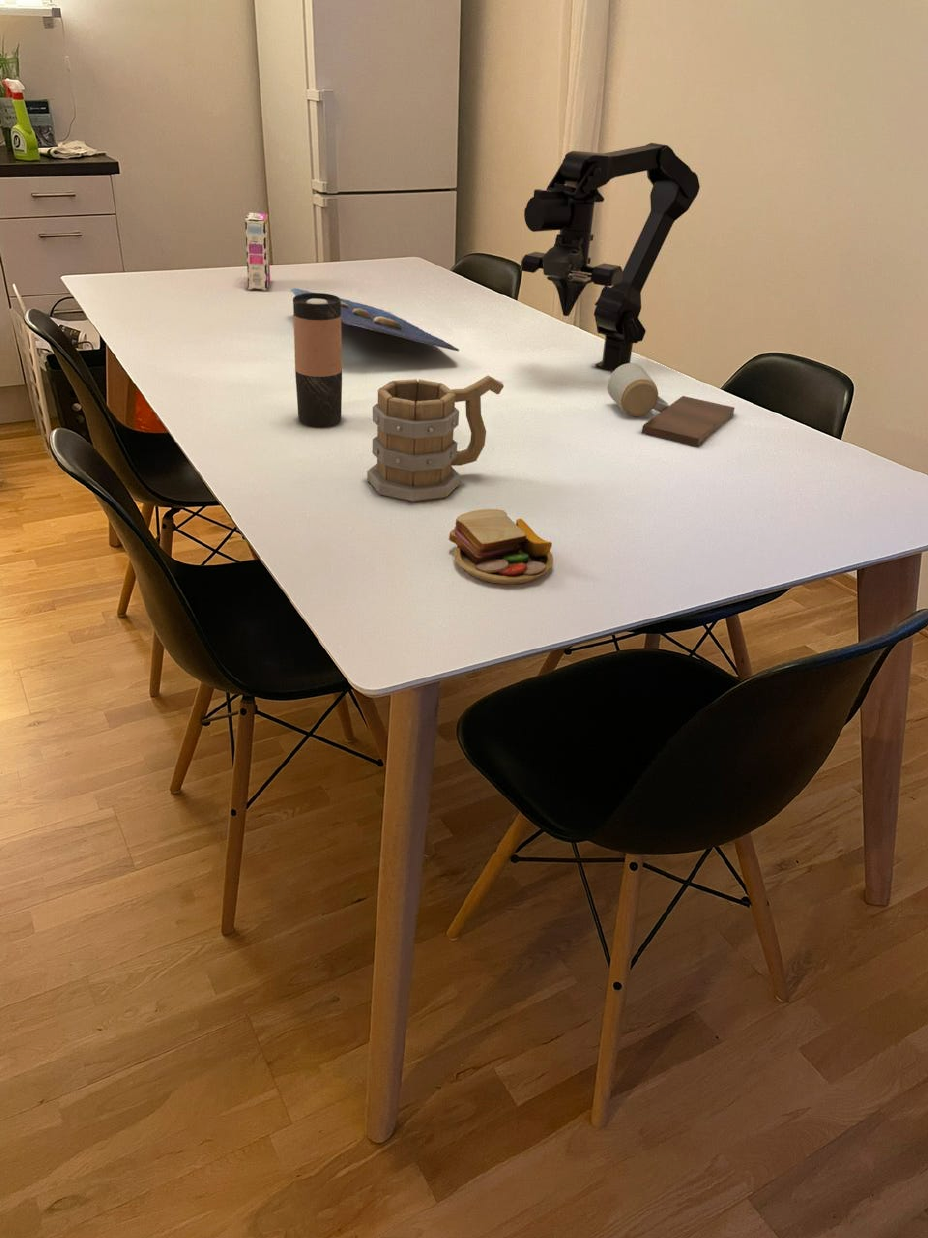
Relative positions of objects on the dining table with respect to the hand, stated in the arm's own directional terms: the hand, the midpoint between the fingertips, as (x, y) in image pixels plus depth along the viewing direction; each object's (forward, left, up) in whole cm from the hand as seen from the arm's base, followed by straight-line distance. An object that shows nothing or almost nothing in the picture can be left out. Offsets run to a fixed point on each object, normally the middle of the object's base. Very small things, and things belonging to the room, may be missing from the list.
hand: (566, 315), depth 182 cm
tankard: (+58, +8, -12) cm, 60 cm away
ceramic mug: (+8, +20, -12) cm, 25 cm away
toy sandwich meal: (+75, +28, -12) cm, 81 cm away
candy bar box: (-17, -92, -12) cm, 94 cm away
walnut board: (+9, +30, -12) cm, 34 cm away
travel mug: (+49, -21, -12) cm, 55 cm away
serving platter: (+5, -44, -12) cm, 46 cm away
